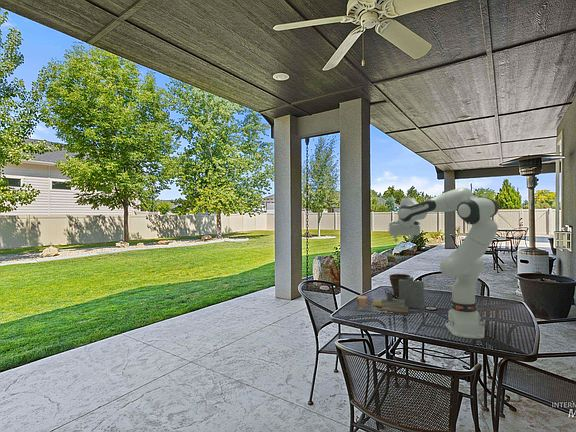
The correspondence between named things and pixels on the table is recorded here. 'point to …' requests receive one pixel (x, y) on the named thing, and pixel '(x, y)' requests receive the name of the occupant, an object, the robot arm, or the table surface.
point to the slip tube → (379, 302)
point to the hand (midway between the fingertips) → (402, 241)
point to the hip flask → (412, 293)
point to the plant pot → (397, 282)
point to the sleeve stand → (393, 306)
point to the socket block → (362, 301)
